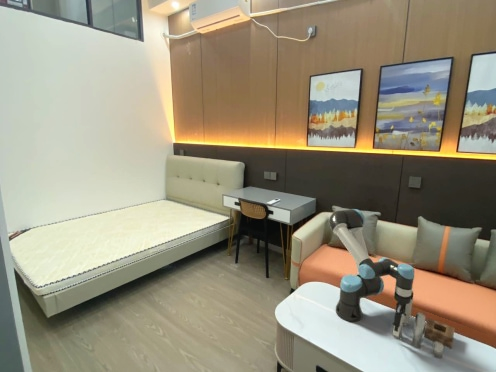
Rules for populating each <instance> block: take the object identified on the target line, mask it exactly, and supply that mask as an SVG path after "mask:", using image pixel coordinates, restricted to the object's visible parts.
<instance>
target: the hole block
mask: <svg viewBox="0 0 496 372" xmlns="http://www.w3.org/2000/svg"><path fill="white" fill-rule="evenodd" d="M425 323H426V324H425V326H424V331H423V338H424V339H427V340H430V341H432V342H433V343H434V342H435V341H437V342H440V343H442V344H443V345H444V347H446V348H448V349H450V350H451V349H452V346H453V341H454V335H455V329H456V328H455V327H452V326H451V325H448V324H446V323H443V322H439V321H437V320H435V319H432V318H429V317H427V320H426V322H425Z"/></svg>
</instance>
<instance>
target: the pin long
mask: <svg viewBox="0 0 496 372" xmlns="http://www.w3.org/2000/svg"><path fill="white" fill-rule="evenodd" d="M414 319H415V320H414V327H413V334H412V339H411V346H412V347H414V348H416V349H421V348H422V341H423V337H424V331H425V323H426V315H425V314H424V313H422V312H416V313H415V318H414Z"/></svg>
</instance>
